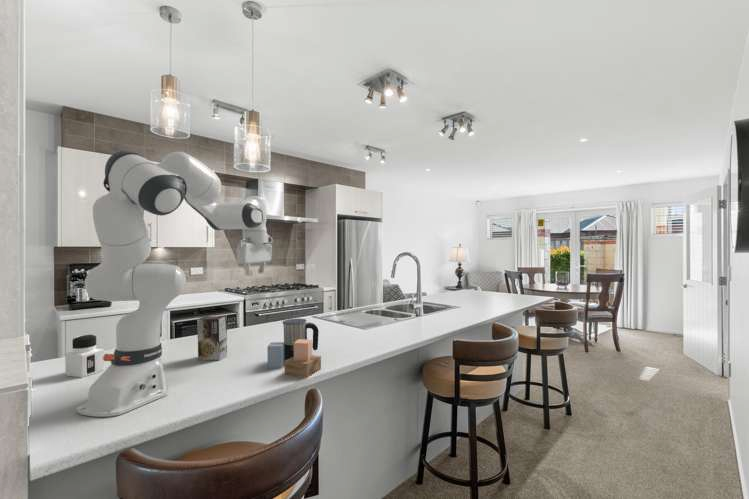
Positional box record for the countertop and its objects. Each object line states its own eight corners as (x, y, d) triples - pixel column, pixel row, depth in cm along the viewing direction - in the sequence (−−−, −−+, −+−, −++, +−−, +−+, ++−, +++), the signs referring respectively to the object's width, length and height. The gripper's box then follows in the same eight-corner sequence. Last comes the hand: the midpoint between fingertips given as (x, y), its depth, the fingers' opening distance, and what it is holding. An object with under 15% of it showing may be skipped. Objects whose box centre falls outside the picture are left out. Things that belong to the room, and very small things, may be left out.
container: (104, 370, 131) (103, 334, 131) (81, 378, 124) (81, 339, 123) (88, 368, 133) (87, 332, 133) (65, 375, 126) (64, 338, 126)
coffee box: (227, 355, 148) (227, 315, 148) (219, 360, 142) (219, 318, 141) (206, 354, 149) (205, 315, 149) (197, 360, 143) (196, 318, 142)
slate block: (281, 368, 133) (281, 346, 133) (267, 368, 133) (267, 346, 133) (284, 363, 138) (284, 342, 138) (270, 363, 138) (270, 342, 138)
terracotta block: (308, 360, 126) (307, 343, 126) (293, 360, 127) (293, 343, 127) (311, 356, 131) (311, 339, 131) (298, 355, 132) (298, 339, 132)
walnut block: (307, 378, 123) (306, 364, 123) (284, 375, 127) (284, 360, 126) (320, 370, 131) (320, 356, 131) (299, 367, 135) (299, 353, 135)
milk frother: (288, 363, 138) (288, 324, 138) (273, 353, 151) (272, 317, 151) (322, 356, 146) (322, 319, 146) (305, 347, 159) (305, 313, 159)
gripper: (247, 238, 131) (248, 276, 131) (274, 238, 151) (274, 272, 151) (231, 238, 132) (232, 276, 133) (260, 238, 152) (260, 272, 153)
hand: (255, 274), depth 142 cm, fingers open, 8 cm apart
